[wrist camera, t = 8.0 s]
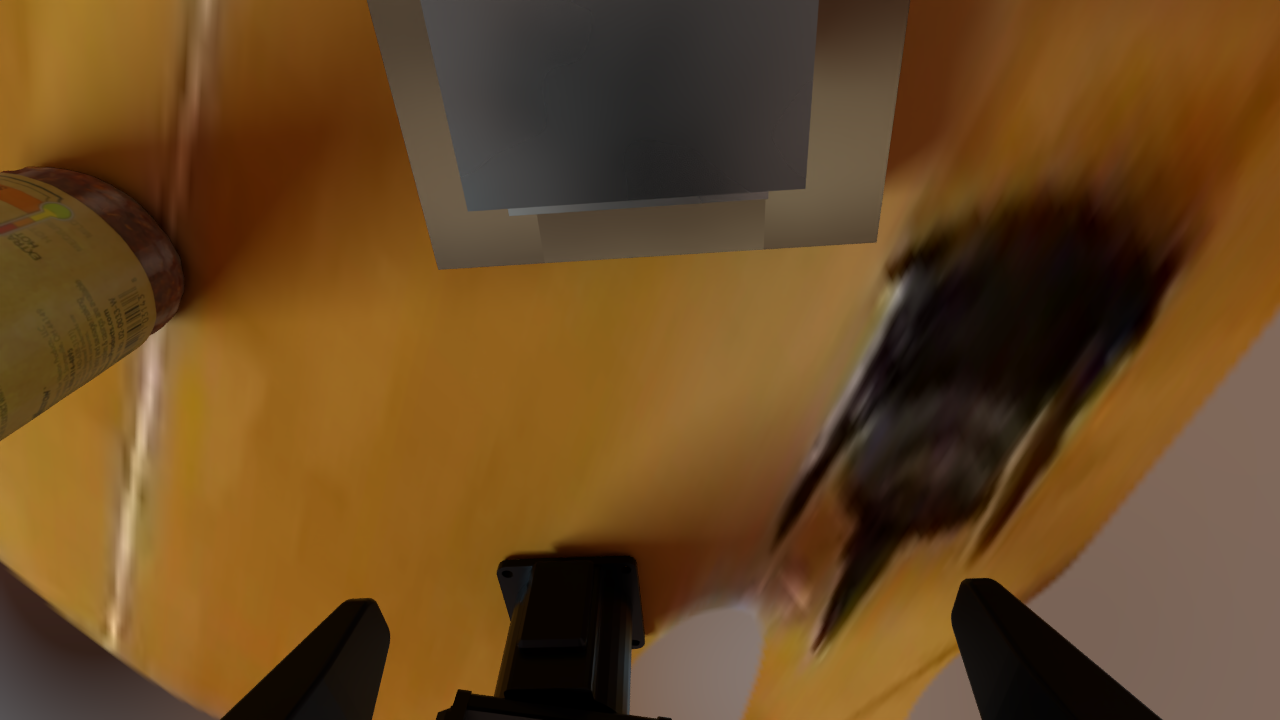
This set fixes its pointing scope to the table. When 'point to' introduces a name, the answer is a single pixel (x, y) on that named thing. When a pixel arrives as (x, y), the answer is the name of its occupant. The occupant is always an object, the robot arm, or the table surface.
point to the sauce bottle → (74, 285)
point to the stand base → (815, 216)
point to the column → (624, 100)
